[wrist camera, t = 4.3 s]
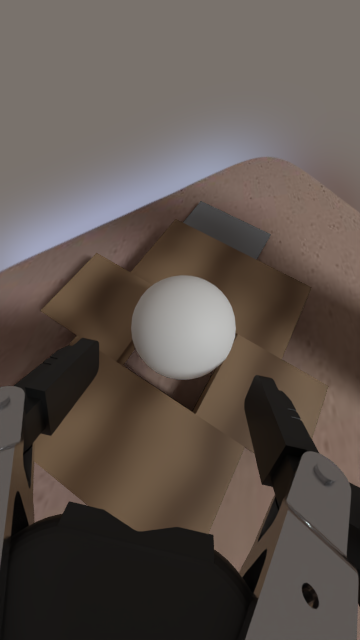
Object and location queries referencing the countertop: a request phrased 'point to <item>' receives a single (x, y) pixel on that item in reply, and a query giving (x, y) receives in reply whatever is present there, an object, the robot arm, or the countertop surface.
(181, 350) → the lightbulb
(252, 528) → the countertop surface
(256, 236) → the slate mat
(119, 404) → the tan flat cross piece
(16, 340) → the countertop surface
